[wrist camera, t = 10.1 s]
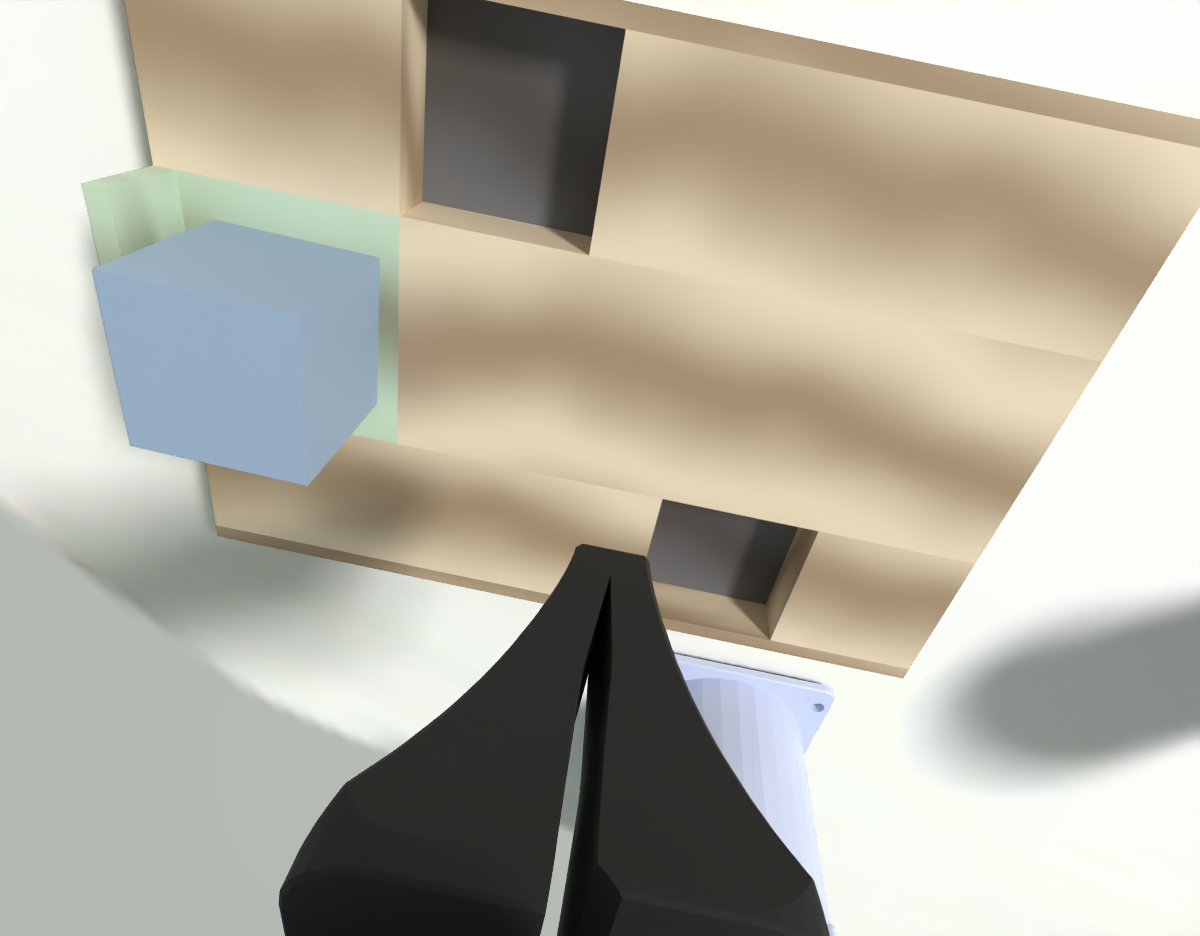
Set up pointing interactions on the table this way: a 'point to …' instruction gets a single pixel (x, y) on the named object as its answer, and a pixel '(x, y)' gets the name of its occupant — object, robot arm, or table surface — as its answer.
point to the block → (243, 347)
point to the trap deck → (664, 292)
